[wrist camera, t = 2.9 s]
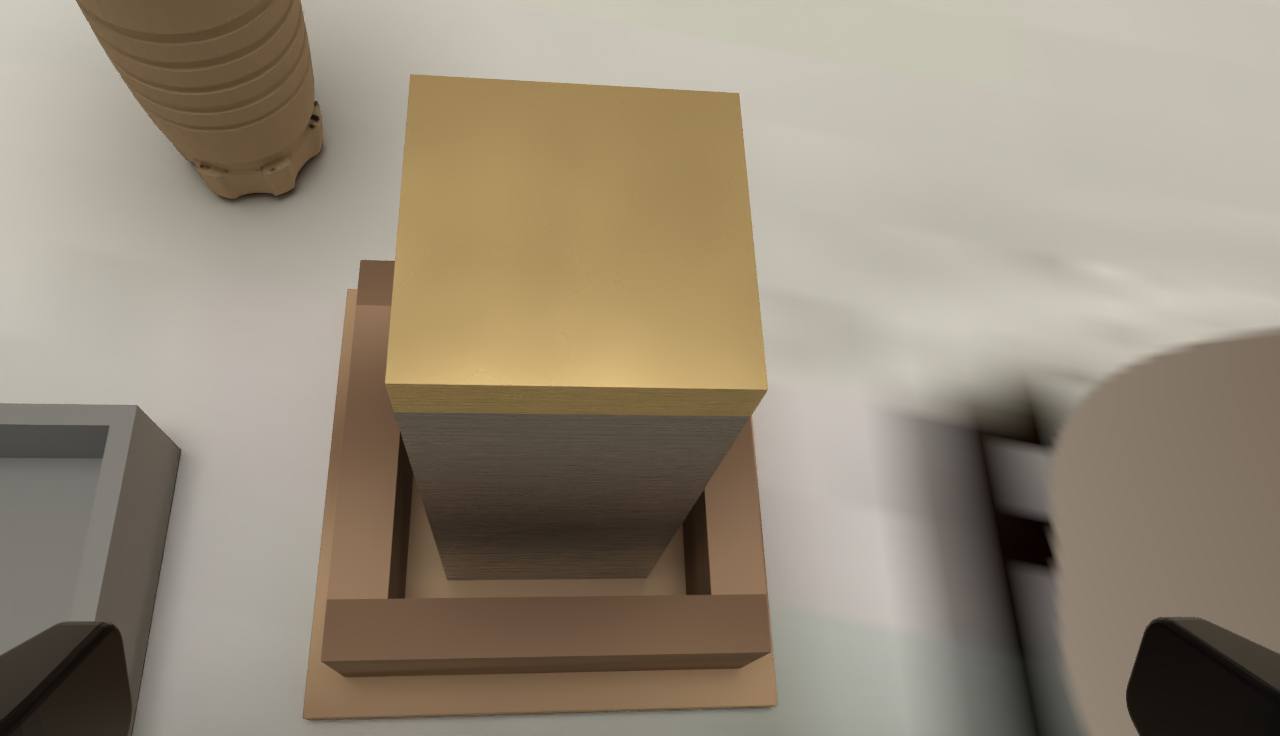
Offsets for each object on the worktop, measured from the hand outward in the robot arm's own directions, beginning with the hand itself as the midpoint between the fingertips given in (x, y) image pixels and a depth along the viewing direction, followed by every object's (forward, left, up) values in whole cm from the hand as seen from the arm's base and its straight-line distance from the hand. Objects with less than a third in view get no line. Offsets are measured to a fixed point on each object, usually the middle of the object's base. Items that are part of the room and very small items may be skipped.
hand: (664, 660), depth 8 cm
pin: (+4, -3, -11) cm, 12 cm away
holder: (+4, -3, -11) cm, 12 cm away
